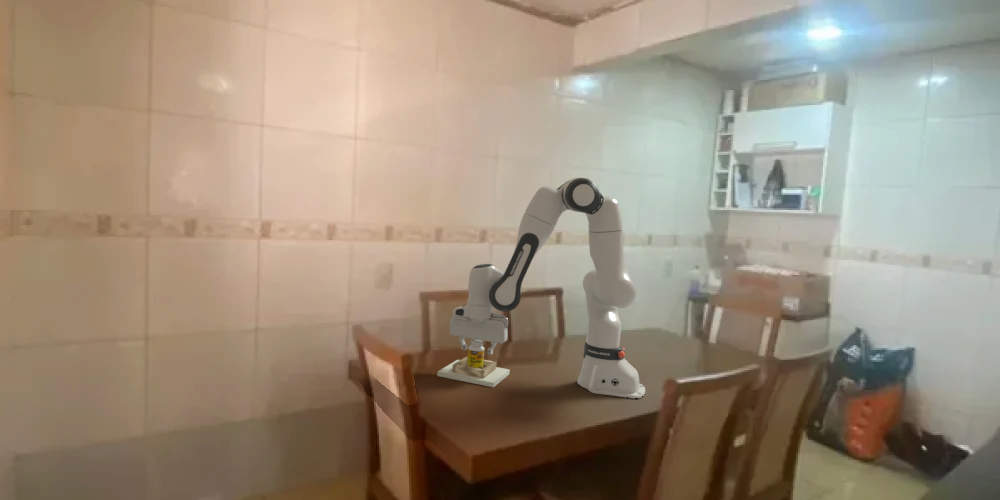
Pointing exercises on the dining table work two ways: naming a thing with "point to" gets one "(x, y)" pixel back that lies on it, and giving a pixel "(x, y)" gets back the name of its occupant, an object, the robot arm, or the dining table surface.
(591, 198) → the robot arm
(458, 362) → the holder
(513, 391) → the dining table surface
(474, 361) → the supplement bottle
